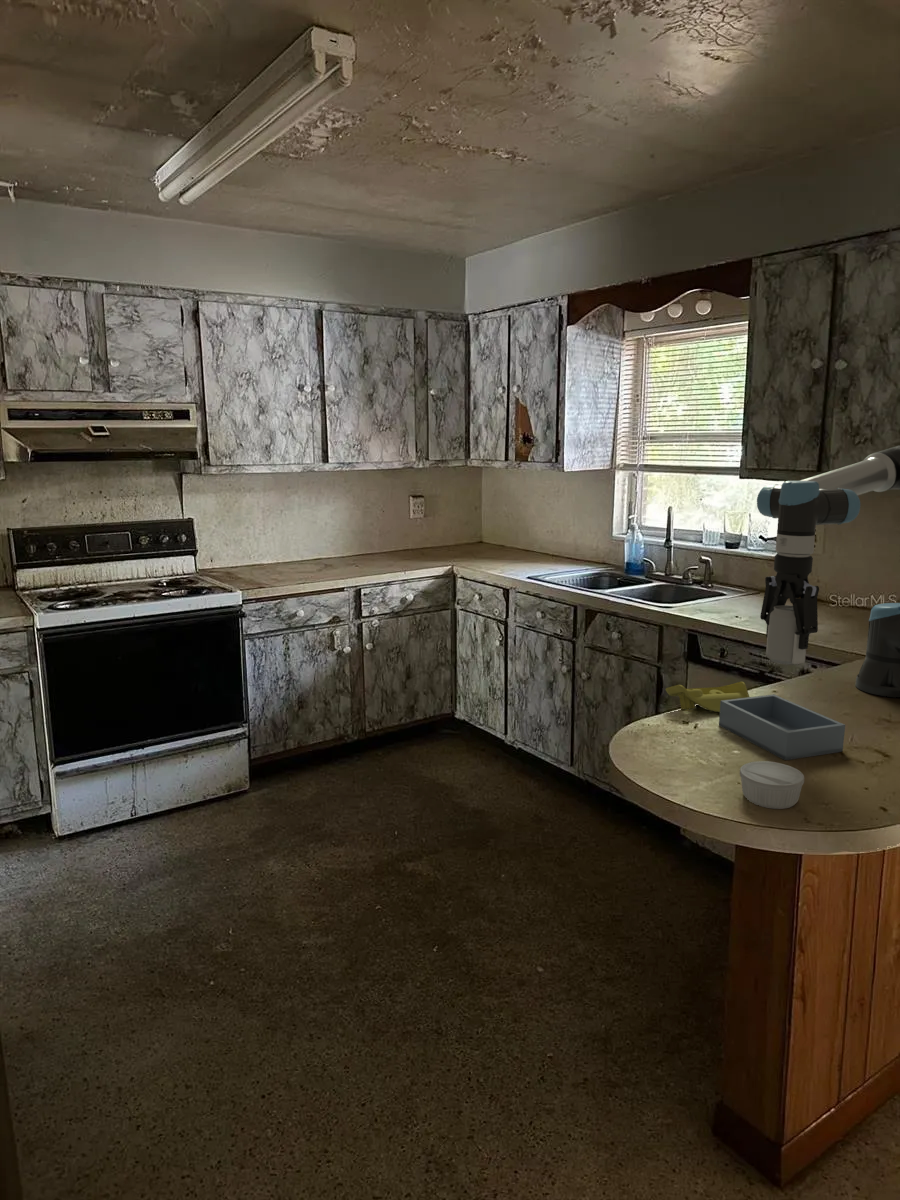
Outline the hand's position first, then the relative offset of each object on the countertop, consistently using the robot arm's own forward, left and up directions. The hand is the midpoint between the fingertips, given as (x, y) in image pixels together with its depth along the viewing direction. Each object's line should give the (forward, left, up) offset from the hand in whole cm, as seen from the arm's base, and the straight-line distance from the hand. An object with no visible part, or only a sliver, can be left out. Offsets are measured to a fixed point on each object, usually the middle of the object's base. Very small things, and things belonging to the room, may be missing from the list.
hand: (784, 658), depth 183 cm
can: (0, 0, -1) cm, 1 cm away
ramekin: (+23, +25, -19) cm, 39 cm away
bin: (0, 0, -18) cm, 18 cm away
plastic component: (+2, -24, -19) cm, 30 cm away
